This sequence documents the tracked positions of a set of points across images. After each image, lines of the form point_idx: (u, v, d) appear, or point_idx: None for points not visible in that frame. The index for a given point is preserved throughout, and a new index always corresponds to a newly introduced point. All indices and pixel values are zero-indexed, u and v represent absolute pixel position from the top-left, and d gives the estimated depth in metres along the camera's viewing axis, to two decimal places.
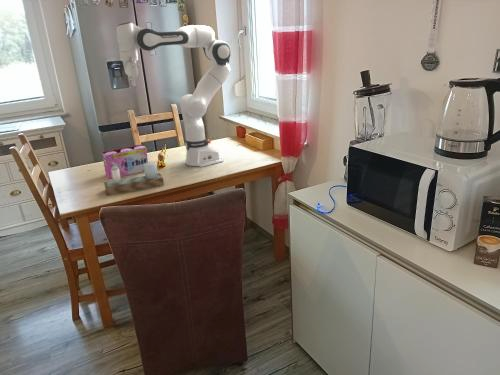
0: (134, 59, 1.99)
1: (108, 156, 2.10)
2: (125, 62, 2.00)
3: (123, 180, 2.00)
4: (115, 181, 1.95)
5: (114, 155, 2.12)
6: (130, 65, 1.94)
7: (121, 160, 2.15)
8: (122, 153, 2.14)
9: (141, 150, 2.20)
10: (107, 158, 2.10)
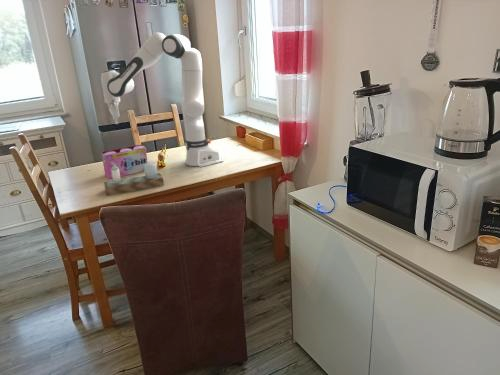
0: (116, 101, 2.29)
1: (107, 156, 2.10)
2: (108, 104, 2.29)
3: (123, 180, 2.00)
4: (115, 181, 1.95)
5: (113, 155, 2.12)
6: (112, 107, 2.24)
7: (120, 160, 2.15)
8: (121, 153, 2.14)
9: (141, 150, 2.20)
10: (106, 158, 2.10)
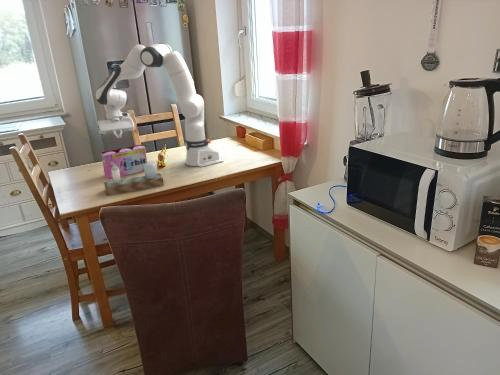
0: (108, 118, 2.35)
1: (107, 156, 2.10)
2: None
3: (123, 180, 2.00)
4: (115, 181, 1.95)
5: (113, 155, 2.12)
6: None
7: (120, 160, 2.15)
8: (121, 153, 2.14)
9: (141, 150, 2.19)
10: (106, 158, 2.10)
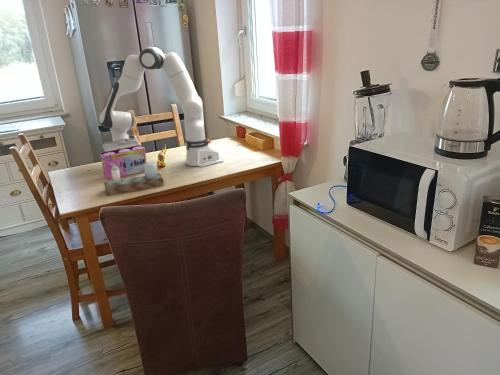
0: (114, 141, 2.25)
1: (106, 157, 2.09)
2: None
3: (123, 180, 2.00)
4: (115, 181, 1.95)
5: (112, 156, 2.11)
6: None
7: (119, 160, 2.14)
8: (120, 154, 2.13)
9: (140, 150, 2.19)
10: (105, 159, 2.09)
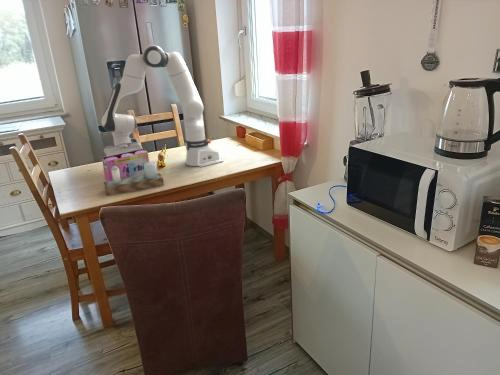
0: (115, 145, 2.18)
1: (109, 162, 2.01)
2: None
3: (123, 180, 2.00)
4: (115, 181, 1.95)
5: (115, 161, 2.03)
6: None
7: (123, 165, 2.06)
8: (124, 158, 2.05)
9: (143, 155, 2.11)
10: (108, 164, 2.01)
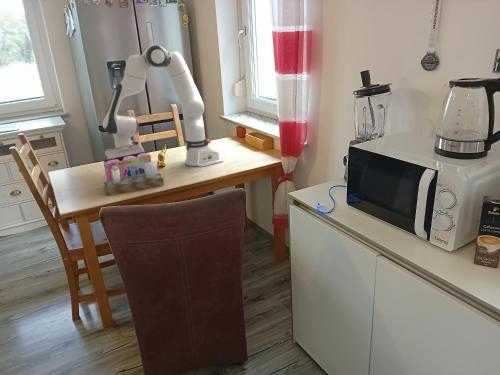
0: (117, 147, 2.13)
1: (110, 165, 1.97)
2: None
3: (123, 180, 2.00)
4: (115, 181, 1.95)
5: (116, 163, 1.99)
6: None
7: (124, 168, 2.01)
8: (125, 161, 2.01)
9: (146, 157, 2.06)
10: (109, 167, 1.97)
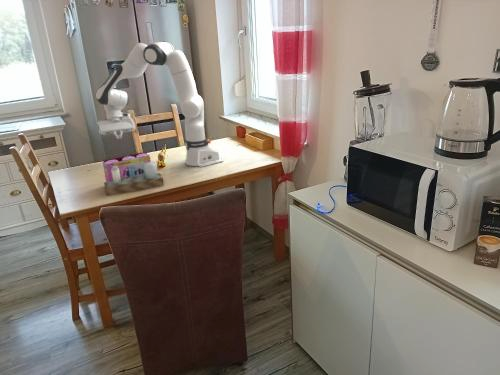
0: (108, 118, 2.32)
1: (109, 165, 1.97)
2: None
3: (123, 180, 2.00)
4: (115, 181, 1.95)
5: (115, 164, 1.98)
6: None
7: (123, 169, 2.01)
8: (124, 162, 2.01)
9: (145, 158, 2.06)
10: (108, 167, 1.97)
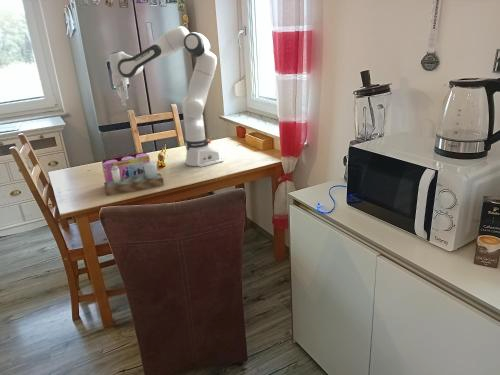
0: (125, 83, 2.25)
1: (108, 165, 1.97)
2: (117, 86, 2.26)
3: (123, 180, 2.00)
4: (115, 181, 1.95)
5: (115, 164, 1.98)
6: (121, 89, 2.20)
7: (122, 169, 2.01)
8: (123, 162, 2.00)
9: (144, 158, 2.06)
10: (107, 167, 1.97)
